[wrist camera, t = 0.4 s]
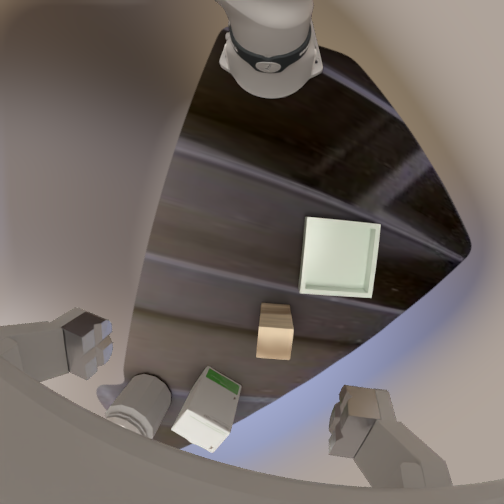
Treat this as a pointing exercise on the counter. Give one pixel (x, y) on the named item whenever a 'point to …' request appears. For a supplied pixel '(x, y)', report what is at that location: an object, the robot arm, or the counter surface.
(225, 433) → the skincare box
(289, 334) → the oak block
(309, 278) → the dish
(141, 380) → the jar
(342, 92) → the counter surface
